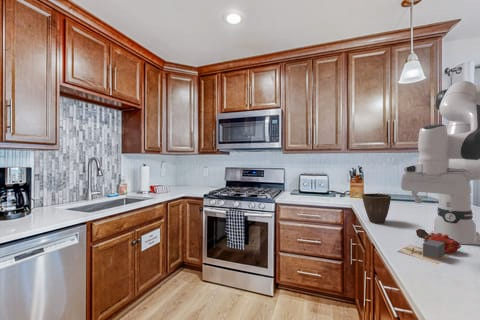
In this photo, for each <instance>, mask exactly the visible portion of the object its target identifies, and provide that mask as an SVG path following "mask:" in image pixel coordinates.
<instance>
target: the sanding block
mask: <svg viewBox="0 0 480 320" xmlns="http://www.w3.org/2000/svg"><path fill="white" fill-rule="evenodd" d="M422 248H423V257H425V258H429V259H432V260H436V261H439V260H440V259H441V258H443V257H444V256H445V254H446V253H445V252H444V243H443V242H439V241H434V240H428V241H426V242H423V243H422Z"/></svg>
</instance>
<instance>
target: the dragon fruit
mask: <svg viewBox="0 0 480 320" xmlns="http://www.w3.org/2000/svg"><path fill="white" fill-rule="evenodd" d="M428 240H434V241H439V242H443V243H444V252H445V254H450V253H456V252H457V251H458V250H460V249H461V248H462V244H459V243H458V242H457V241H455V240H454V239H451V238H449V237H448V235H447V234H446V235H442V234H441V233H437V234H434V233H432V235H431V234H429V233H428V236H426V237H425V239H423V243H425V242H426V241H428Z"/></svg>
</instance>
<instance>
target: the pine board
mask: <svg viewBox="0 0 480 320" xmlns="http://www.w3.org/2000/svg"><path fill="white" fill-rule="evenodd" d="M396 252H397V253H401V254H404V255H408V256H410V257H414V258H417V259H420V260H424V261H428V262H431V263H435V264H440V263H441V262H443V261H444V260H445V259H446V258H448V257H449V256H450V255H449V254H448V253H445V256H444V257H443V258H441V259H440V260H439V261H436V260H432V259H429V258H425V257H423V247H420V246H419V247H418V246H415V245H412V244H409V245H406V246H405V247H404V248H402V249H399V250H396Z"/></svg>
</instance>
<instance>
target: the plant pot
mask: <svg viewBox="0 0 480 320" xmlns="http://www.w3.org/2000/svg"><path fill="white" fill-rule="evenodd" d="M361 196H362V197H361V198H362V201H363V207H364V209H365V214H366V216H367V219H368V221H369V223H372V224H377V225H378V224H379V225H382V224H385V221H386V219H387V217H388V214H389V211H390V206H391V201H392V195H389V194H385V193H384V194H383V193H364V194H362V195H361Z"/></svg>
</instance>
